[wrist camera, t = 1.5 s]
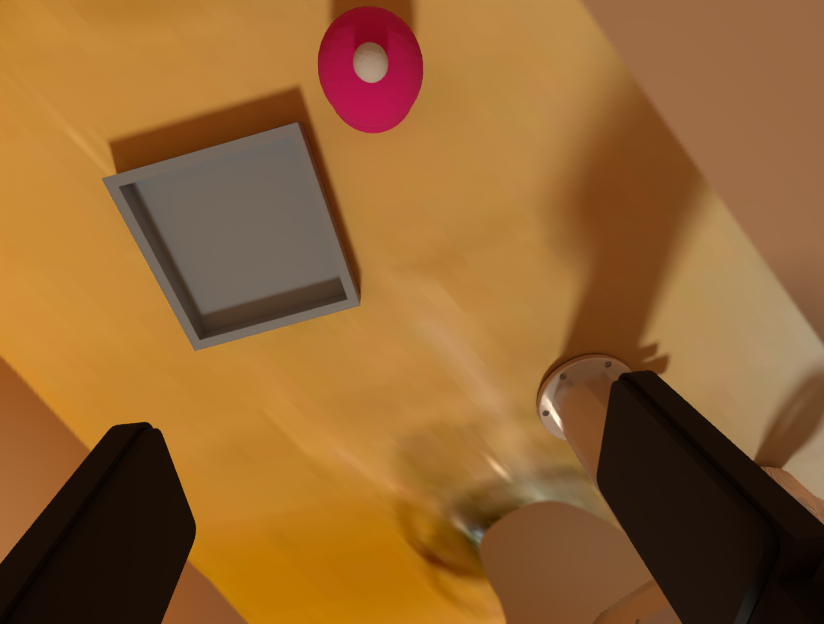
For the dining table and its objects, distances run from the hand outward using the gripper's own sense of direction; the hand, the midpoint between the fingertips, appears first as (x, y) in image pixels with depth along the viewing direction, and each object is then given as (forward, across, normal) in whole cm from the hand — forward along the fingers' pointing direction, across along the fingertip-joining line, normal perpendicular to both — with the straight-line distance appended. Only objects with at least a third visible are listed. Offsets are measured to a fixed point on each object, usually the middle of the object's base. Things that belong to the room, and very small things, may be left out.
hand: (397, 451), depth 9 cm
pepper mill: (+37, -1, -8) cm, 38 cm away
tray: (+37, +13, +4) cm, 40 cm away
